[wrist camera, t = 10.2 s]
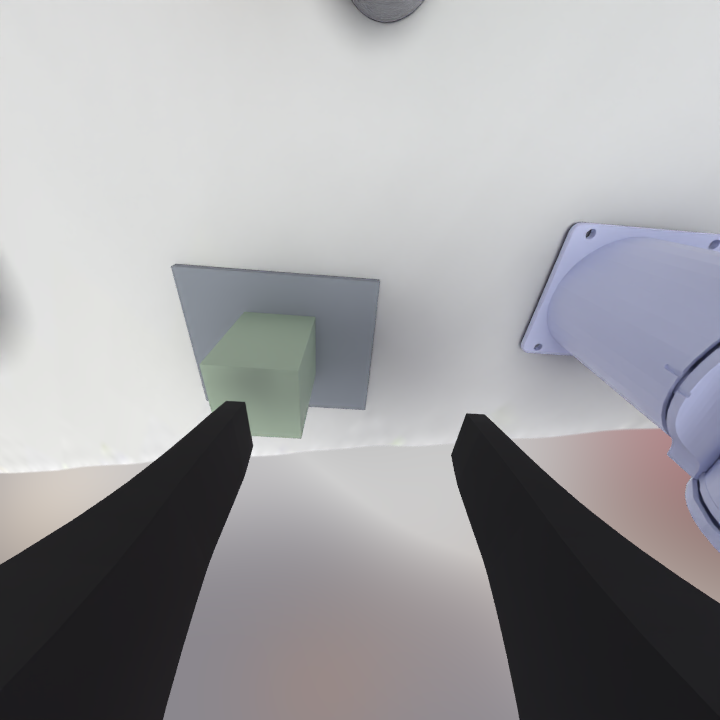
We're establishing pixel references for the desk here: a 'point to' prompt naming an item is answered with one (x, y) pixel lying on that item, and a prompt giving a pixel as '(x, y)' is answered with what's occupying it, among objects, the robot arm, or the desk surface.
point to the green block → (265, 371)
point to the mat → (289, 297)
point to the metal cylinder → (387, 8)
